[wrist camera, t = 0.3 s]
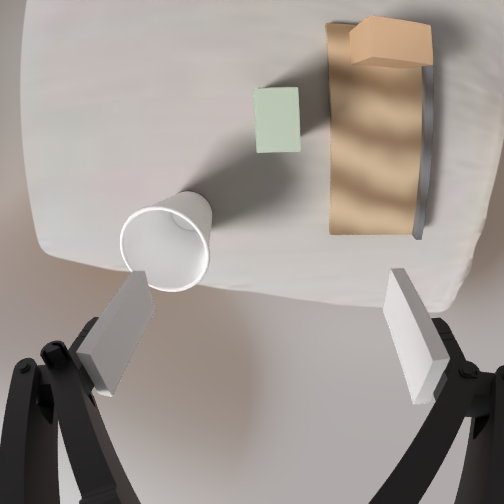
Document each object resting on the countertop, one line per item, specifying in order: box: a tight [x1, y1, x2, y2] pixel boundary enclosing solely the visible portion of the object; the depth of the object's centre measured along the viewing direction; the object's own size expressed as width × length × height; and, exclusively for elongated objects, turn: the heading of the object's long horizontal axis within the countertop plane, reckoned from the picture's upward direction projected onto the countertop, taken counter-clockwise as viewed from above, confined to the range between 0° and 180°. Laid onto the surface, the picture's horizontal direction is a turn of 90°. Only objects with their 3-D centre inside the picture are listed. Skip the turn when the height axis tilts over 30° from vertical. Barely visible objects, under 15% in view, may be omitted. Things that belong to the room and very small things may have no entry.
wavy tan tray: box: [325, 23, 434, 240], centre depth 34 cm, size 26×12×3 cm, turn 4°
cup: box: [120, 191, 212, 292], centre depth 37 cm, size 10×10×11 cm
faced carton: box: [349, 16, 433, 69], centre depth 25 cm, size 4×6×9 cm, turn 94°
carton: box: [253, 87, 301, 153], centre depth 31 cm, size 4×6×9 cm, turn 4°
